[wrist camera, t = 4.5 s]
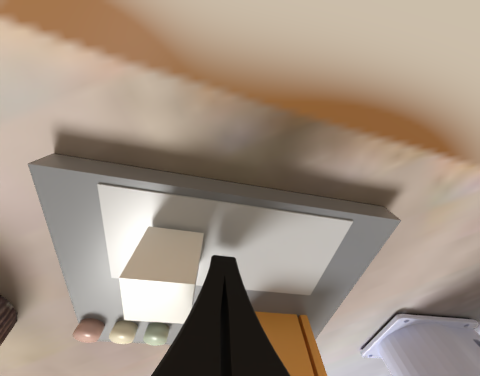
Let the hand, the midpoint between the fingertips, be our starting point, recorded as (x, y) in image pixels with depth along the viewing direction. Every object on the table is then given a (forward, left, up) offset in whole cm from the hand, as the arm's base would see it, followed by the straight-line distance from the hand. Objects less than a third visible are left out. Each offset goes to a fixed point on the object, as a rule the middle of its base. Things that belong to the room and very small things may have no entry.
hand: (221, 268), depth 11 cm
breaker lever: (+3, 0, -1) cm, 3 cm away
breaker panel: (0, +4, -3) cm, 5 cm away
